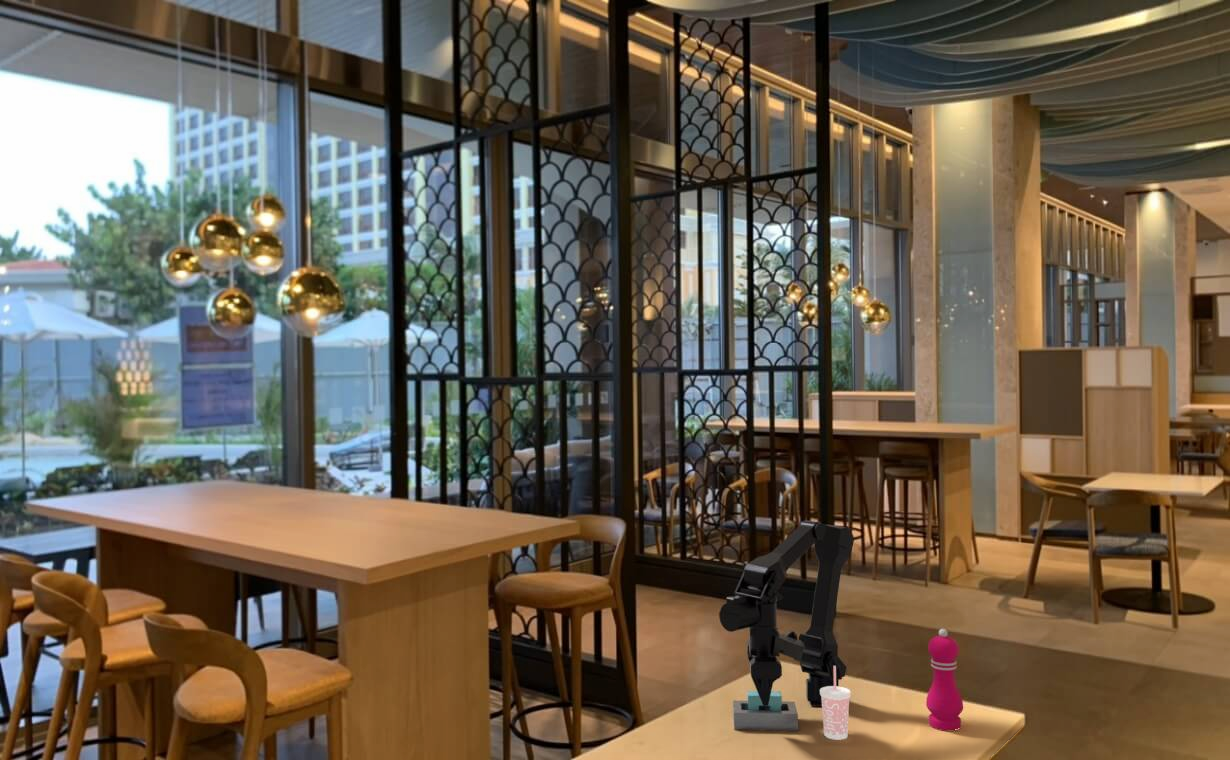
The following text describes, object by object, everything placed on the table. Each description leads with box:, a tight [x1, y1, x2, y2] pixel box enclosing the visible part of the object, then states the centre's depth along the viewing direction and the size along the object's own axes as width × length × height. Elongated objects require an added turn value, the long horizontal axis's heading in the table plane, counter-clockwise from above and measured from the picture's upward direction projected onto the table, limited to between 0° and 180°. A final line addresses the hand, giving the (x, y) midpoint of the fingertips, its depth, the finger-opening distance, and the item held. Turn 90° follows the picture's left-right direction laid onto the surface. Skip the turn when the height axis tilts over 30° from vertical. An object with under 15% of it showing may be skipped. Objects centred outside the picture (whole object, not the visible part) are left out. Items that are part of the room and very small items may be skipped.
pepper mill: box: [925, 628, 964, 731], centre depth 188 cm, size 7×7×20 cm
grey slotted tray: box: [732, 700, 799, 732], centre depth 191 cm, size 13×7×4 cm, turn 84°
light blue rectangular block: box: [746, 690, 783, 711], centre depth 191 cm, size 7×3×6 cm, turn 84°
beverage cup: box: [820, 666, 851, 741], centre depth 184 cm, size 6×6×14 cm
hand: (764, 697), depth 191 cm, fingers open, 9 cm apart
